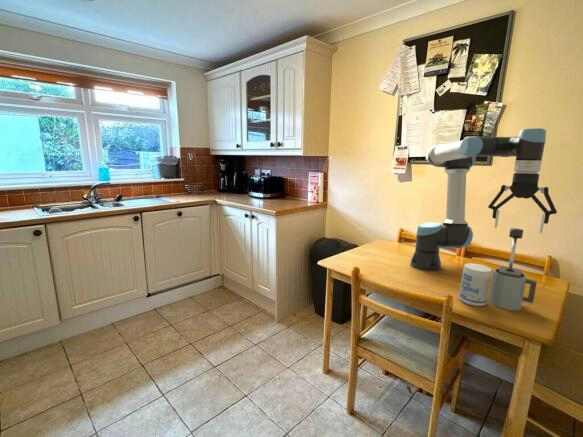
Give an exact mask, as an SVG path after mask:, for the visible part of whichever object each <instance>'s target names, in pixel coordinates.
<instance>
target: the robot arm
mask: <svg viewBox="0 0 583 437" xmlns="http://www.w3.org/2000/svg"><path fill="white" fill-rule="evenodd" d="M546 137H547V130H546V129H545V128H540V127H539V128H538V127H537V128H524V129H521V130H520V131H519V134H518V135H517V136H477V135H474V136H473V135H472V136H466V137H464V138H463V139H462V140H460V141H457V142H452V143H448V144H435V145H433V146H431V147H430V148H428V149H427V152H426V156H425V157H426V161H427V162H428V164H430V165H431V166H433V167H437V168H444V172H445V173H446V174H447V181H446V183H447V186H446V211H445V212H446V213H445V214H446V216H445V220H443V221H442V223H440V222H423V223H421V224H419V225H417V229H416V238H415V239H416V240H415V249H414V252H413V255H412V257H411V260H410V266H412V267H413V268H416V269H419V270H421V271H433V272H436V271H440V270H441V269H442V261H441V256H440V249H443V248H444V249H463V248H464V249H466V248H467V247H468V246H469V245H471V243H472V242H473V241H472V240H473V238H474V232H473V229H472V227H470V226H469V222H468V221H466V219H465V218H466V217H465V216H466V193H467V192H466V191H467V173H468V172H470V171H471V168H472V167H474V165H475V163H476V160H477V159H476V158H477V157H494V158H495V157H496V158H497V157H500V158H510V157H515V160H514V170H513V172H514V173H513V174H512V182H511V185H505V184H502V185H501V186H500V191H498V194H497V195H496V196H495V197H494V198H493V200H492V201H491V202H490V204H488V209H491V210H492V215H491V216H492V219H495V221H494V228H498V224H499V223H498V222H499V216H500V209H501V207H502V206H503V205H505V204H507V203H508V202H509V201H510V200H512V199H514V197H515V198H516V199H530V198H531V199H532V200H533V201H534V203H535V204H536V205H537V206H538V207H539V208H540V209H541V211H542V212H543V213H541V220H540V224H539V230H538V232H539V234H540V233H541V234H543V229H544V226H545V225H548V223H549V222H550V221H549V220H550V216H551V215H556V214H557V213H558V212H557V209H556V207H555V204H554V203H553V201H552V198H551V196H550V194H549V187H548V186H543V187H539V179H540V173H539V172H541V168H542V163H543V162H542V160H543V155H544V150H545V144H546V141H547V140H546ZM508 190H510V192H511V193H510V195H508V196H507V197H506V198H504V199H503V200H501V201H500V202H499V203H498V204H496V203H497V202H498V200H499V199H500V198H501V196H502V195H503V194H504V192H507V191H508ZM538 191H539V192H541V194H543V196H544V198H545V200H546V202H547V204H548V206H549V208H550V210H549V209H547V207H546V206H545V205H544V204H543V203H542V202H541V201H540V200H539V198H538V197H537V196H536V195H535V194H536V193H537V192H538ZM495 204H496V205H495ZM544 224H545V225H544Z"/></svg>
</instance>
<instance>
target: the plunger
mask: <svg viewBox="0 0 583 437" xmlns="http://www.w3.org/2000/svg"><path fill="white" fill-rule="evenodd" d="M508 234H509V236H508V237H509V238H513V239H512V245H511V251H510V258H509V264H508V267H509V268H508V271H510V272H512V268H514V260H515V255H516V249H517V243H518V242H517V241H518V239H523V234H524V229H521V228H514V227H512V228H509V233H508ZM505 276H507V275H505ZM509 277H512V276H509Z"/></svg>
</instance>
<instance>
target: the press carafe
mask: <svg viewBox="0 0 583 437" xmlns="http://www.w3.org/2000/svg"><path fill="white" fill-rule="evenodd" d="M508 268H509V266H504V265H499V267H495V268H493V270H492V271H493V272H492V276H491V283H490V284H491V285H490V289H489V296H488V302H489V303H490V304H491V305H493V306H494V307H497V308H500V309H504V310H508V311H518V310H521V309H522V304H523V302H526V303H530V304H533V303H534V298H535V295H536V294H535V293H536V289H537V283H538V281H537V280H536V279H535V280H534V279H530V278H527V274H526V273H523V272H522V269H519V268H516V267H515V268H514V267H513V268H512V272H510V271H508ZM505 275H507V276H505ZM509 276H512V277H509ZM526 284H527V285H528V284H529V290H528V295H527V296H524V293H525V289H526V288H525V287H526Z"/></svg>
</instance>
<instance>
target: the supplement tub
mask: <svg viewBox="0 0 583 437" xmlns="http://www.w3.org/2000/svg"><path fill="white" fill-rule="evenodd" d="M492 271H493V270H492V269H491V267H489V266H487V265H484V264H479V263H471V262H470V263H464V266H463V268H462V274H461V281H460V287H459V288H460V289H459V294H458V295H459V296H458V297H459V299H460V301H461V302H463V303H465V304H467V305H470V306H475V307H484V306H485V305H486V304H487V303H488V302H487V301H488V297H489V292H490V286H491V285H490V284H491V280H492Z"/></svg>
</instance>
